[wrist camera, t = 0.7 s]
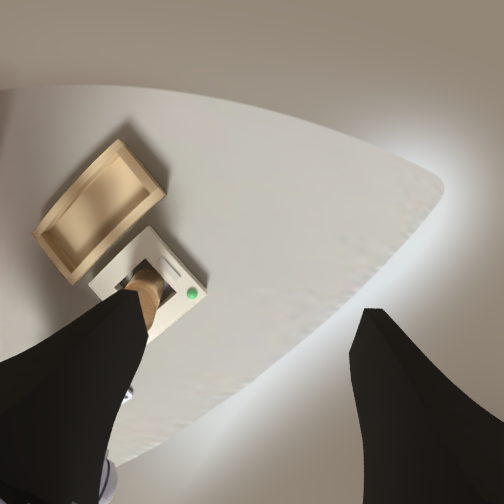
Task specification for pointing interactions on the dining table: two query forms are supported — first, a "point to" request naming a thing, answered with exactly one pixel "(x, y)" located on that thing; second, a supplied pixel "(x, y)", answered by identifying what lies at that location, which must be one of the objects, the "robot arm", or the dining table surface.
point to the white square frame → (165, 265)
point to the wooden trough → (97, 211)
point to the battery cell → (147, 292)
